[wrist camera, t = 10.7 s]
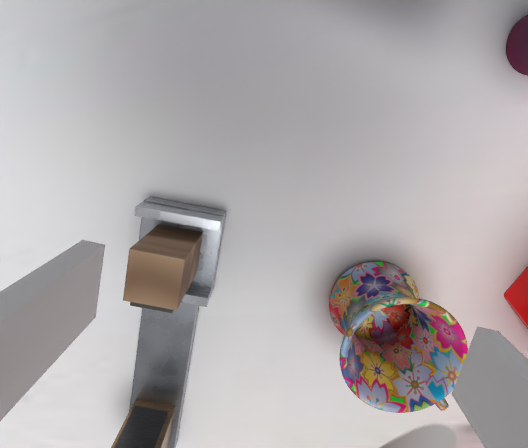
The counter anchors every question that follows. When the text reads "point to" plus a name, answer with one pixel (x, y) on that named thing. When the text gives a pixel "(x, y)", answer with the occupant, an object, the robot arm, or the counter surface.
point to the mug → (395, 340)
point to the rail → (169, 332)
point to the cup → (518, 46)
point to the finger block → (162, 267)
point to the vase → (519, 296)
